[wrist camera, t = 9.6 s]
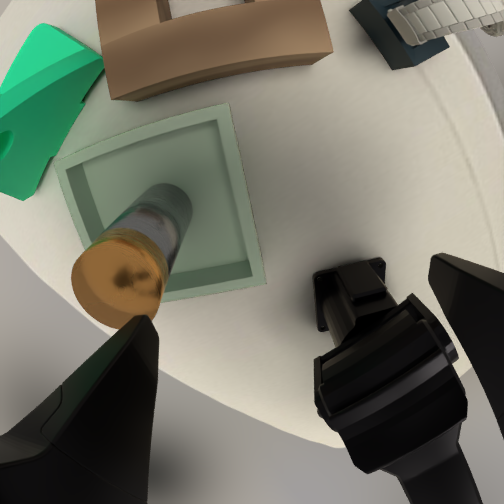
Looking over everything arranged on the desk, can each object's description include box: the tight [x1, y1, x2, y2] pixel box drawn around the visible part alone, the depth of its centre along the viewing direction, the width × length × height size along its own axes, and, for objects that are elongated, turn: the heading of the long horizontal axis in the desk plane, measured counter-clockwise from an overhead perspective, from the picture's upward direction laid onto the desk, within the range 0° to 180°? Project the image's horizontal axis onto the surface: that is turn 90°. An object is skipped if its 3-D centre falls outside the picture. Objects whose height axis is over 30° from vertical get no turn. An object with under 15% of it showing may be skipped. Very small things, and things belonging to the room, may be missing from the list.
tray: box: [54, 103, 266, 303], centre depth 19 cm, size 12×12×3 cm
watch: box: [349, 0, 504, 70], centre depth 9 cm, size 6×8×11 cm
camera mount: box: [0, 23, 104, 201], centre depth 11 cm, size 12×8×10 cm, turn 138°
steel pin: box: [71, 183, 193, 329], centre depth 15 cm, size 4×4×10 cm
